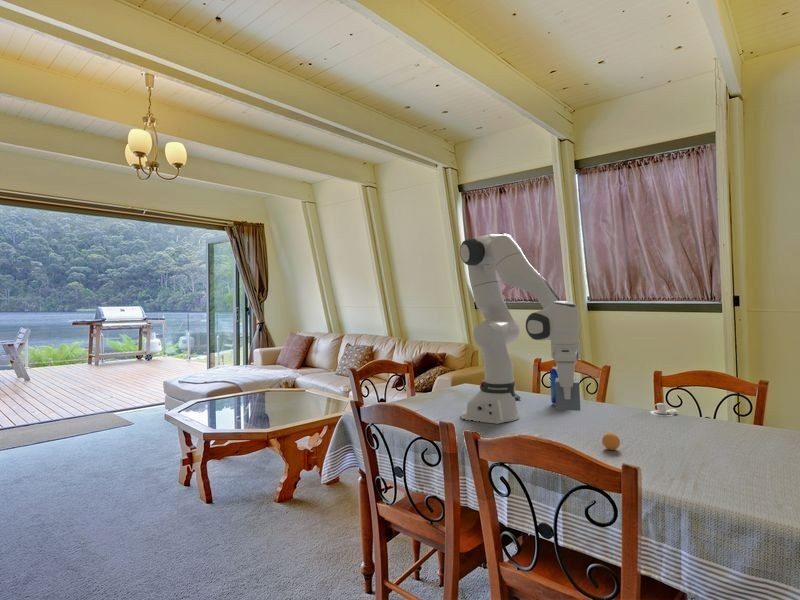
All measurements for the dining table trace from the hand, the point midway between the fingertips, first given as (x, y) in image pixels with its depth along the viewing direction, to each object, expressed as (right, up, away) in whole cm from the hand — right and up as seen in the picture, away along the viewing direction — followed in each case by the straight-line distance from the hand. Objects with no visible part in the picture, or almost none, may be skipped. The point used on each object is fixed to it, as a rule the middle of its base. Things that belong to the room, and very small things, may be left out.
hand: (568, 395), depth 145 cm
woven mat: (-4, -16, +66) cm, 68 cm away
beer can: (+16, -15, +50) cm, 55 cm away
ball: (+12, -13, -4) cm, 18 cm away
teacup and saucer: (+48, -14, +29) cm, 58 cm away
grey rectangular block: (0, -4, 0) cm, 4 cm away
